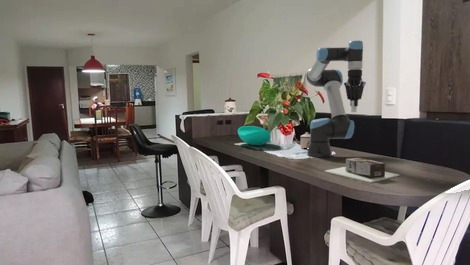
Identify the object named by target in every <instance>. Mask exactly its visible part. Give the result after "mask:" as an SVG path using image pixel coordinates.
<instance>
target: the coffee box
mask: <svg viewBox="0 0 470 265" xmlns="http://www.w3.org/2000/svg"><path fill="white" fill-rule="evenodd" d="M345 167H346V171H347V172H350V173H354V174H357V175H360V176H363V177H367V178H370V179H371V178H378V177H385V172H386V163H385V162H380V161H376V160H372V159H367V158H362V157H355V158H354V157H353V158H345Z"/></svg>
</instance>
